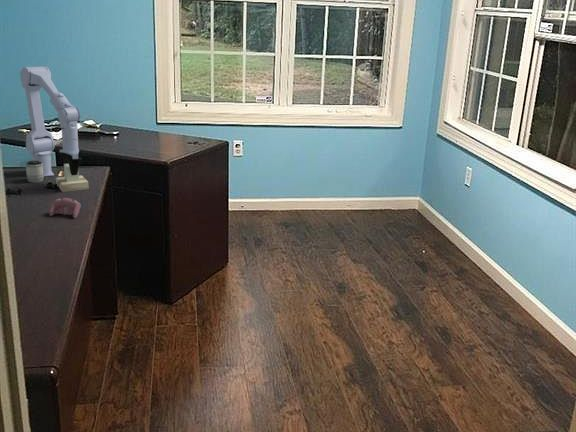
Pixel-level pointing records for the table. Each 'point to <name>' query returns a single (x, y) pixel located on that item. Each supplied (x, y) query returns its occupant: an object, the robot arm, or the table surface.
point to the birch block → (72, 184)
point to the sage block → (68, 175)
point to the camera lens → (34, 171)
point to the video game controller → (65, 202)
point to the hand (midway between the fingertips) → (71, 172)
